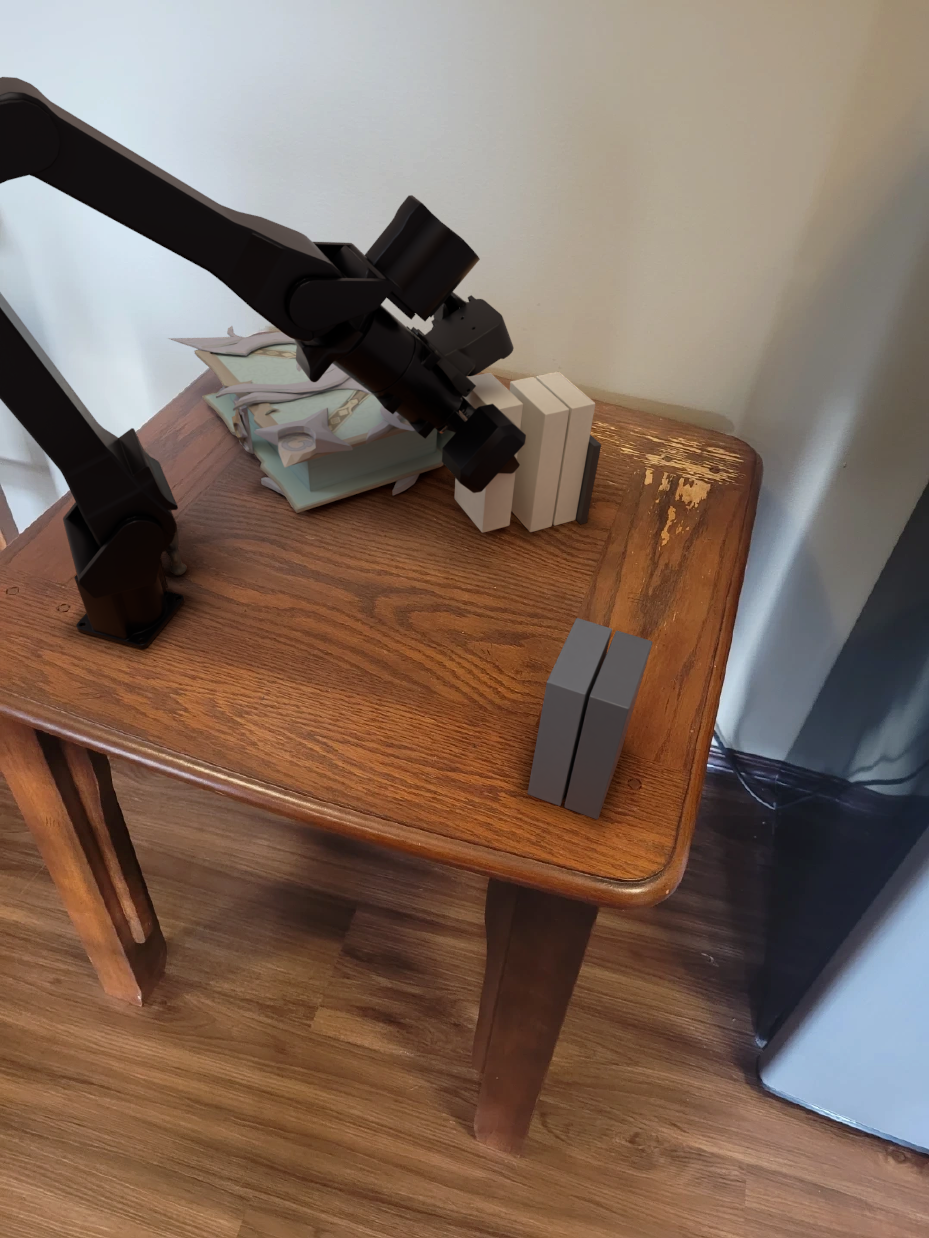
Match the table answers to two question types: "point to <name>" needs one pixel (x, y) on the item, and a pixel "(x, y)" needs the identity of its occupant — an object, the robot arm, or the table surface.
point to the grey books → (586, 716)
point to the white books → (554, 452)
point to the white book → (497, 496)
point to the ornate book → (311, 423)
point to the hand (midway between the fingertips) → (499, 451)
